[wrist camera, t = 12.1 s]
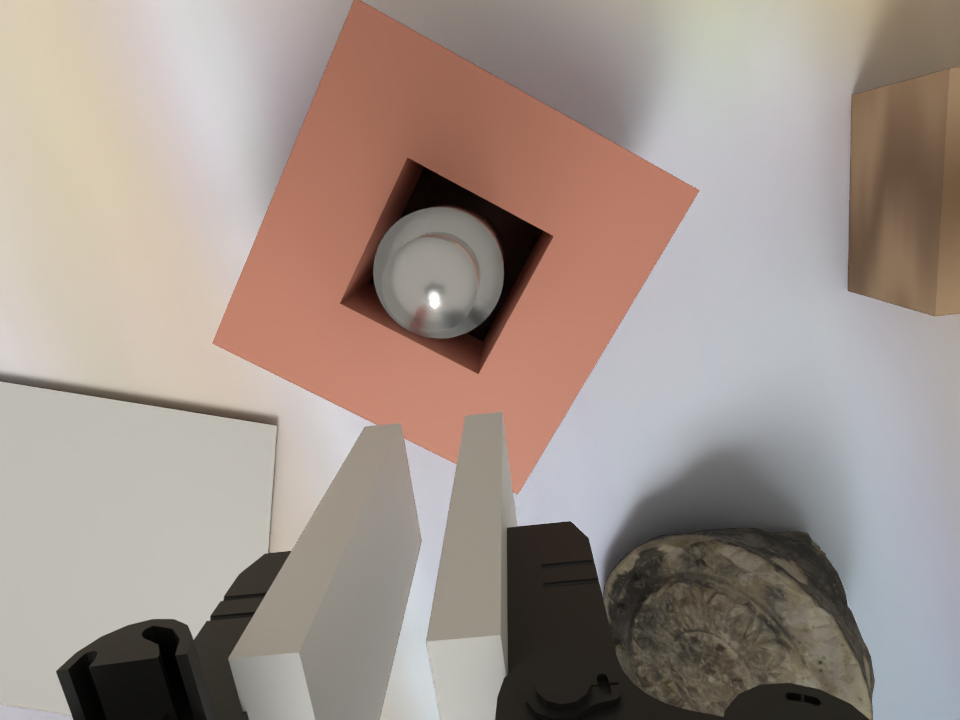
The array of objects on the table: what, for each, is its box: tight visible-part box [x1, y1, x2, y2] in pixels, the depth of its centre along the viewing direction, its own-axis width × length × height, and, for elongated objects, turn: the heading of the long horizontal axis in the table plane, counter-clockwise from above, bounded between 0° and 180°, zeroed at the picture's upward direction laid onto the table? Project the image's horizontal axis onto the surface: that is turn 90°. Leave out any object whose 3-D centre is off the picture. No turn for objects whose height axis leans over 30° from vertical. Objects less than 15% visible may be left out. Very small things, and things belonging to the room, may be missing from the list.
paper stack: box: [0, 381, 277, 716], centre depth 27 cm, size 23×25×1 cm
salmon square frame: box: [213, 0, 700, 494], centre depth 19 cm, size 10×10×4 cm
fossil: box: [604, 528, 875, 720], centre depth 25 cm, size 11×9×10 cm
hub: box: [370, 167, 543, 341], centre depth 19 cm, size 7×7×10 cm
